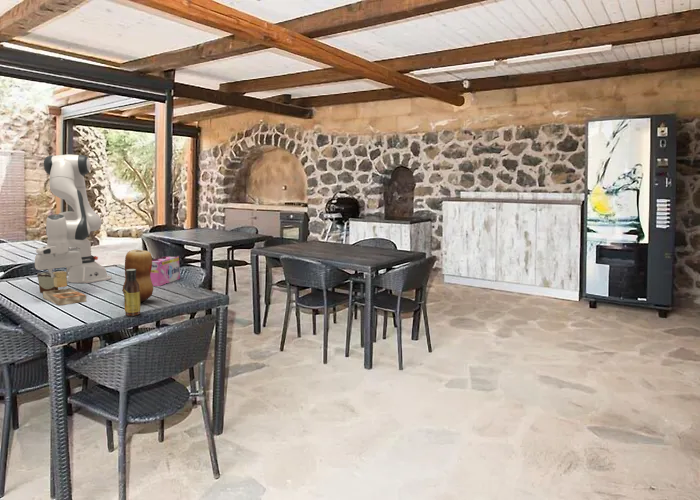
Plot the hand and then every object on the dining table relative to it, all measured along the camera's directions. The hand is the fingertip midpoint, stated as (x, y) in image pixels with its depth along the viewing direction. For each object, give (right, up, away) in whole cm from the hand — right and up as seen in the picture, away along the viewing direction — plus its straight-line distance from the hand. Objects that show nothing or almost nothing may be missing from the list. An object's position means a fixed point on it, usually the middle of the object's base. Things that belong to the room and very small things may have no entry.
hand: (59, 276), depth 250 cm
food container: (-10, -9, +11) cm, 17 cm away
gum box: (+35, -6, +43) cm, 56 cm away
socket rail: (+4, -11, -3) cm, 12 cm away
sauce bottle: (+47, -15, -27) cm, 56 cm away
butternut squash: (+40, -12, -5) cm, 42 cm away
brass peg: (0, -5, +1) cm, 5 cm away
